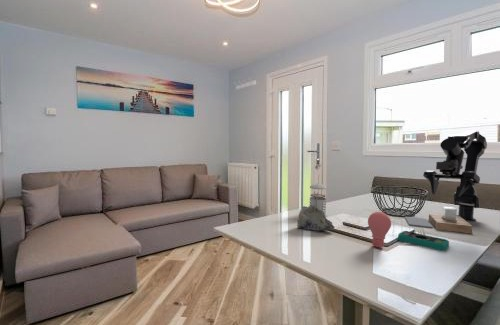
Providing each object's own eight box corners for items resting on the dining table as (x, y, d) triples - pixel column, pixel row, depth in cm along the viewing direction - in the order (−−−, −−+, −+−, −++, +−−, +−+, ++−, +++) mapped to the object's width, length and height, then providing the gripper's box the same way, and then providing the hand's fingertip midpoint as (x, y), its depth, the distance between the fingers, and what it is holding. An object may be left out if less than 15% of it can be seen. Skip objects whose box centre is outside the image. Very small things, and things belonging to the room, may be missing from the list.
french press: (329, 213, 137) (331, 163, 135) (325, 219, 126) (327, 165, 124) (309, 211, 141) (311, 162, 139) (303, 216, 130) (305, 164, 129)
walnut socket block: (428, 219, 129) (429, 213, 129) (459, 223, 124) (460, 216, 124) (436, 229, 114) (436, 222, 114) (472, 233, 109) (472, 226, 109)
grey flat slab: (405, 217, 132) (405, 216, 132) (426, 219, 128) (426, 218, 128) (409, 225, 119) (409, 224, 119) (432, 228, 116) (432, 226, 116)
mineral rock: (335, 233, 107) (337, 207, 106) (314, 237, 102) (315, 210, 101) (314, 224, 118) (314, 201, 118) (293, 227, 114) (294, 203, 113)
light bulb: (384, 243, 96) (386, 210, 95) (393, 251, 89) (395, 215, 88) (363, 242, 97) (365, 209, 96) (370, 250, 90) (372, 214, 89)
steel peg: (441, 224, 122) (443, 206, 121) (452, 225, 120) (454, 207, 120) (444, 226, 118) (445, 208, 118) (455, 228, 117) (456, 209, 116)
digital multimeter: (402, 236, 106) (403, 229, 105) (449, 247, 95) (450, 239, 95) (395, 241, 100) (396, 233, 100) (444, 253, 90) (445, 244, 90)
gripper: (421, 153, 121) (412, 185, 117) (472, 151, 105) (463, 189, 101) (433, 164, 126) (425, 196, 122) (483, 164, 110) (476, 200, 106)
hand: (445, 195), depth 113 cm, fingers open, 9 cm apart
